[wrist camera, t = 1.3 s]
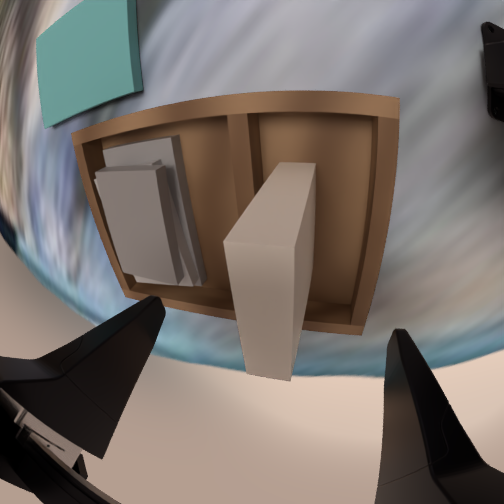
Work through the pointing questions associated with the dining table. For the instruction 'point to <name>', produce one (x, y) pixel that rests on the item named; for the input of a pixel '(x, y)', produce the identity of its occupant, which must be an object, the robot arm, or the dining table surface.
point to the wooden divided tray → (255, 175)
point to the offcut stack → (151, 212)
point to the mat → (88, 59)
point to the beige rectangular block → (273, 268)
